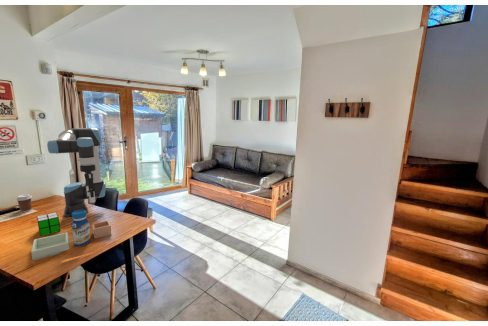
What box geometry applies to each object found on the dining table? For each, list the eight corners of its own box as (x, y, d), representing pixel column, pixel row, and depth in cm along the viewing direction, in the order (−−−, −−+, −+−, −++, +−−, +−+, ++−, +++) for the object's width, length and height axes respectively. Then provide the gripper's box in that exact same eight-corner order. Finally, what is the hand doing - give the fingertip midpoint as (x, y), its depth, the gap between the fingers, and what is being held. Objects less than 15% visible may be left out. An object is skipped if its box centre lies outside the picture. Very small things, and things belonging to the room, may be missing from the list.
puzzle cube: (58, 226, 157) (56, 212, 155) (60, 231, 150) (58, 216, 148) (38, 230, 150) (36, 216, 148) (40, 236, 143) (37, 221, 141)
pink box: (93, 234, 147) (92, 223, 146) (109, 230, 152) (108, 220, 151) (94, 239, 140) (93, 229, 139) (111, 235, 145) (110, 225, 144)
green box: (35, 247, 131) (34, 239, 130) (68, 239, 140) (67, 232, 139) (32, 260, 119) (31, 251, 118) (69, 251, 128) (68, 242, 127)
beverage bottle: (88, 238, 141) (85, 207, 137) (93, 243, 136) (90, 211, 132) (71, 244, 135) (67, 212, 131) (76, 249, 129) (72, 216, 126)
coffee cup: (15, 211, 178) (12, 196, 176) (28, 207, 187) (26, 193, 185) (23, 213, 176) (20, 198, 174) (36, 208, 184) (34, 194, 182)
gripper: (77, 161, 142) (81, 194, 146) (81, 168, 123) (85, 206, 127) (92, 160, 147) (95, 192, 151) (98, 167, 128) (101, 203, 132)
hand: (91, 199), depth 139 cm, fingers open, 13 cm apart
